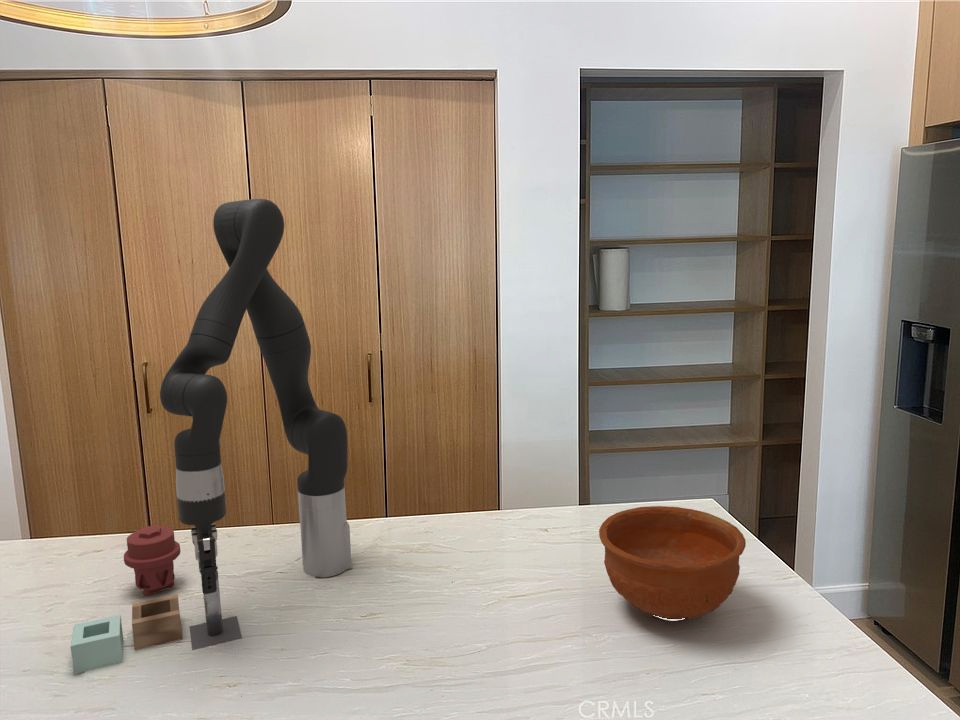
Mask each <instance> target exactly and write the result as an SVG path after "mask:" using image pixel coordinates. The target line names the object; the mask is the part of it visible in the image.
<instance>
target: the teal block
mask: <svg viewBox="0 0 960 720" xmlns="http://www.w3.org/2000/svg"><path fill="white" fill-rule="evenodd" d="M71 633H72V634H71V640H70V645H69V647H70V652H71V654H70V655H71V659H72V668H73V675H79V674H83V673H85V672H86V671H89V670H93V669H98V668H101V667H106V666H111V665H114V664H119V663H122V662H124V643H125V642H124V634H123V624H122V616H121V614H117V615H112V616H107V617H103V618H102V617H101V618H97V619H93V620H89V621H84V622H79V623H74V624H73V627H72V632H71Z"/></svg>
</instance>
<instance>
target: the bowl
mask: <svg viewBox="0 0 960 720" xmlns="http://www.w3.org/2000/svg"><path fill="white" fill-rule="evenodd" d="M598 536H599V539H600V542H601V544H602V545H603V547H604V560H603V562H604V563H603V564H604V566H605V570H606V574H607V575H608V576H607V577H609V578H608V579H609V581H610V583H611V586H612V587H613V588H614V590H615V591H616V592H617V593H618V594H619V595H620V596H621V597H622V598H624V599H625V601H627V602H628V603H629V604H630V605H632V606H633V607H634V608H637V609H638V610H640V611H642V612H644V613H646V614H649V615H651V616H652V615H655V616H659V617H662V618H667V619H682V618H687V619H695V618H699V617H702V616H704V615H706V614H710V613H713V611H715V610H716V609H718V608H720V607H721V605H723V603H724V602H725V601H726V600H727V599H728V597H729V596H730V595H732V594H733V591H734V588H735V586H736V583H737V582H738V578H739V576H740V572H741V571H740V567H741V565H740V556H741V555H743V553H744V550H745V548H746V545H747V544H746V543H747V541H746V538H745V536H744V534H743V533H742V532H741V531H740V529H739V528H738V527H737V526H735V524H732V523H731V522H729V521H727V520H725V519H723V518H720V517H719V516H716V515H714V514H711V513H708V512H705V511H702V510H697V509H693V508H685V507H678V506H663V505H654V506H650V505H649V506H638V507H634V508H630V509H625V510H621V511H618V512H615V513H614V514H612V515H611V516H609V517H606V519H605V520H603V522H602V523H601V525H600V527H599V529H598ZM687 619H686V620H687Z"/></svg>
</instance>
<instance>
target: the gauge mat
mask: <svg viewBox="0 0 960 720" xmlns="http://www.w3.org/2000/svg"><path fill="white" fill-rule="evenodd" d="M222 623H223V632H222V633H221V634H220V635H217V636H209V635H208V634H207V625H206V622H204V623H203V622H202V623H199V624H194V625H189V626H188V627H189V628H188V629H189V635H190V644H191V650H192V651H194V650H198V649H204V648H207V647H211V646H212V647H213V646H216V645H220V644H225V643H229V642H233V641H236V640H241V639H243V635H242V631H241V627H240V623H239V620H238V617H237V615H234V616H229V617H224V618H222Z"/></svg>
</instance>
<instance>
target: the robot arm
mask: <svg viewBox="0 0 960 720" xmlns="http://www.w3.org/2000/svg"><path fill="white" fill-rule="evenodd" d="M212 225H213V226H212V227H213V232H214V236H215V239H216V242H217V244H218V247H219V249H220V251H221V253H222V255H223V257H224V260H225V262H226V264H227V266H228V269H227V271H226V273H225V274H224V275H223V276H222V278H221V279H220V281H219V282H218V283H216V286H215V287H214V288H213V289H212V291H210V293H209V294H208V296H207V297H206V298H205V300H204V302H203V303H202V304H201V306H200V308H199V310H198V313H197V315H196V317H195V320H194V323H193V327H192V329H191V332H190V334H189V338H188V340H187V343H186V345H185V346H184V348H183V349H182V350H181V352H180V353H179V354H178V356H177V357H176V359H175V360H174V362H173V363H172V364H171V366H170V367H169V370H167V372H166V374H165V376H164V378H163V379H162V382H161V385H160V388H159V389H160V390H159V399H160V402H161V406H162V407H163V409H164V410H165V411H166V412H168V413H169V414H173V415H176V416H184V417H192V423H191V427H190V428H186V429H183V430H181V431H179V432H178V433H177V434H176V436H174V442H173V443H174V446H173V447H174V456H175V459H174V461H175V489H176V490H175V491H176V501H177V502H176V503H177V512H178V513H177V514H178V521H180V523H182V524H184V525H187V526H192V527H190V531H191V534H190V535H191V540H192V544H193V546H194V553H195V554H194V555H195V560H196V561H198V570H199V573H200V575H201V576H200V577H201V590H202V593H203V594H209V593H214V592H216V591H217V586H216V573H215V572H217V571H218V570H219V569H218V565H217V557H218V553H219V552H218V543H217V541H218V529H217V527H216V525H217V524H216V522H219V521H221V520H222V519H223V518H225V516H226V515H227V504H226V489H225V477H224V470H223V467H222V458H221V444H220V443H221V441H220V439H221V436H222V435H221V434H222V431H223V430H222V429H223V425H224V419H225V417H226V416H225V414H226V411H227V405H228V394H227V390H226V387H225V385H224V383H223V381H222V380H221V379H220V378H218V377H216V376H215V375H212V374H207V373H208V371H209V370H210V369H211V368H213V367H216V366H217V367H218V366H221V365H224V364H226V363H227V362H228V361H229V359H230V356H231V354H232V351H233V349H234V345H235V342H236V339H237V337H238V333H239V330H240V327H241V324H242V321H243V318H244V316H245V314H246V312H247V314H248V316H249V320H250V322H251V326H252V329H253V333H254V336H255V338H256V341H257V344H258V347H259V350H260V352H261V355H262V359H263V360H264V363H265V365H266V366H265V367H266V370H267V372H268V375H269V379H270V380H271V384H272V386H273V390H274V392H275V395H276V400H277V402H278V406H279V411H280V416H281V420H282V425H283V430H284V433H285V437H286V439H287V441H288V443H289V445H290V446H291V448H293V449H294V450H296V452H299V453H302V454H304V455H307V456H308V457H307V458H308V459H307V461H308V463H307V464H308V467H307V468H308V469H307V470H305V471H303V472H300V474H299V475H298V476H297V478H296V479H297V481H296V484H297V485H296V486H297V498H298V500H297V501H298V512H299V527H300V528H299V529H300V541H301V554H302V555H301V556H302V557H301V558H302V569H303V572H304V573H305V574H306V575H308V576H309V577H315V578H330V577H335V576H337V575H340V574H341V573H344V572H345V571H347V570H351V569H352V567H353V566H352V565H353V563H352V549H351V546H352V545H351V533H350V532H351V531H350V524H349V522H348V521H347V506H346V490H345V479H346V475H347V472H348V463H349V462H348V461H349V460H348V459H349V457H348V452H349V451H348V450H349V449H348V446H349V445H348V441H349V440H348V430H347V427H346V423H345V421H344V419H343V418H342V417H341V416H340V415H338V414H336V413H334V412H331V411H328V410H323V409H321V408H319V407H318V405H317V403H316V401H315V399H314V396H313V392H312V390H311V388H310V383H309V369H310V364H311V363H310V362H311V355H312V346H311V345H312V344H311V340H310V339H311V338H310V336H309V333H308V330H307V328H306V324H305V321H304V319H303V316H302V315H303V314H302V313H301V311H300V310H299V308H298V306H297V305H296V303H295V302H294V301H293V300H292V298H291V297H290V296H289V295H288V294H287V293H286V292H285V290H283V289H282V287H281V286H280V285H279V284H278V282H276V280H275V279H274V278H273V277H272V275H271V274H270V272H269V270H268V267H269V265H270V263H271V262H272V259H273V258H274V255H275V254H276V252H277V250H278V248H279V246H280V244H281V241H282V239H283V236H284V232H285V219H284V215H283V213H282V210H280V208H279V207H278V205H277V204H276V203H275V202H273V201H272V200H269V199H266V198H251V199H243V200H233V201H228V202H224V203H222V204H220V205H219V206H218V207H217V208H216V210H215V212H214V215H213V219H212Z"/></svg>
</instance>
